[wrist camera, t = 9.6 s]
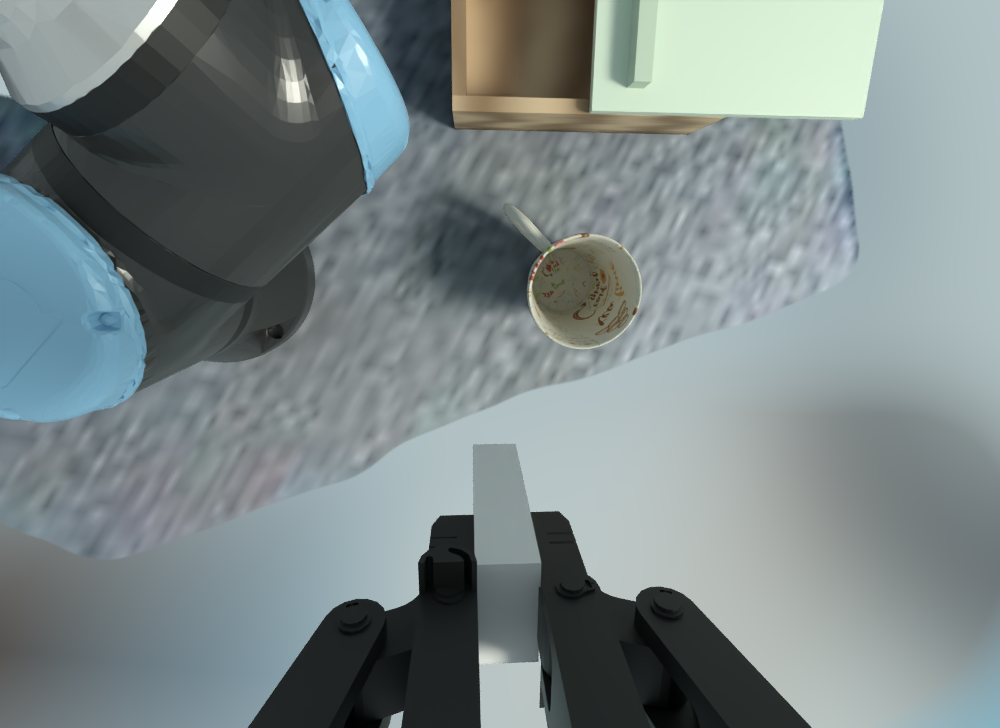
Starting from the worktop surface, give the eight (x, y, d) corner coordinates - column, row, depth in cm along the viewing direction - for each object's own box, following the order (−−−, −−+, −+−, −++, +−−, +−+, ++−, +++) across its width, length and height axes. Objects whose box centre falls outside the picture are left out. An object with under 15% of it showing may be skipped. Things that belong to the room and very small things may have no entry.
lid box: (455, 129, 42) (452, 110, 35) (453, -39, 39) (449, -91, 32) (687, 134, 43) (724, 117, 37) (703, -28, 40) (746, -77, 34)
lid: (589, 113, 36) (597, 105, 33) (599, -87, 33) (609, -111, 30) (854, 120, 37) (880, 112, 35) (888, -72, 34) (919, -95, 32)
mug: (557, 343, 47) (580, 372, 37) (463, 244, 44) (461, 247, 34) (624, 281, 46) (665, 294, 36) (532, 176, 43) (550, 159, 33)
